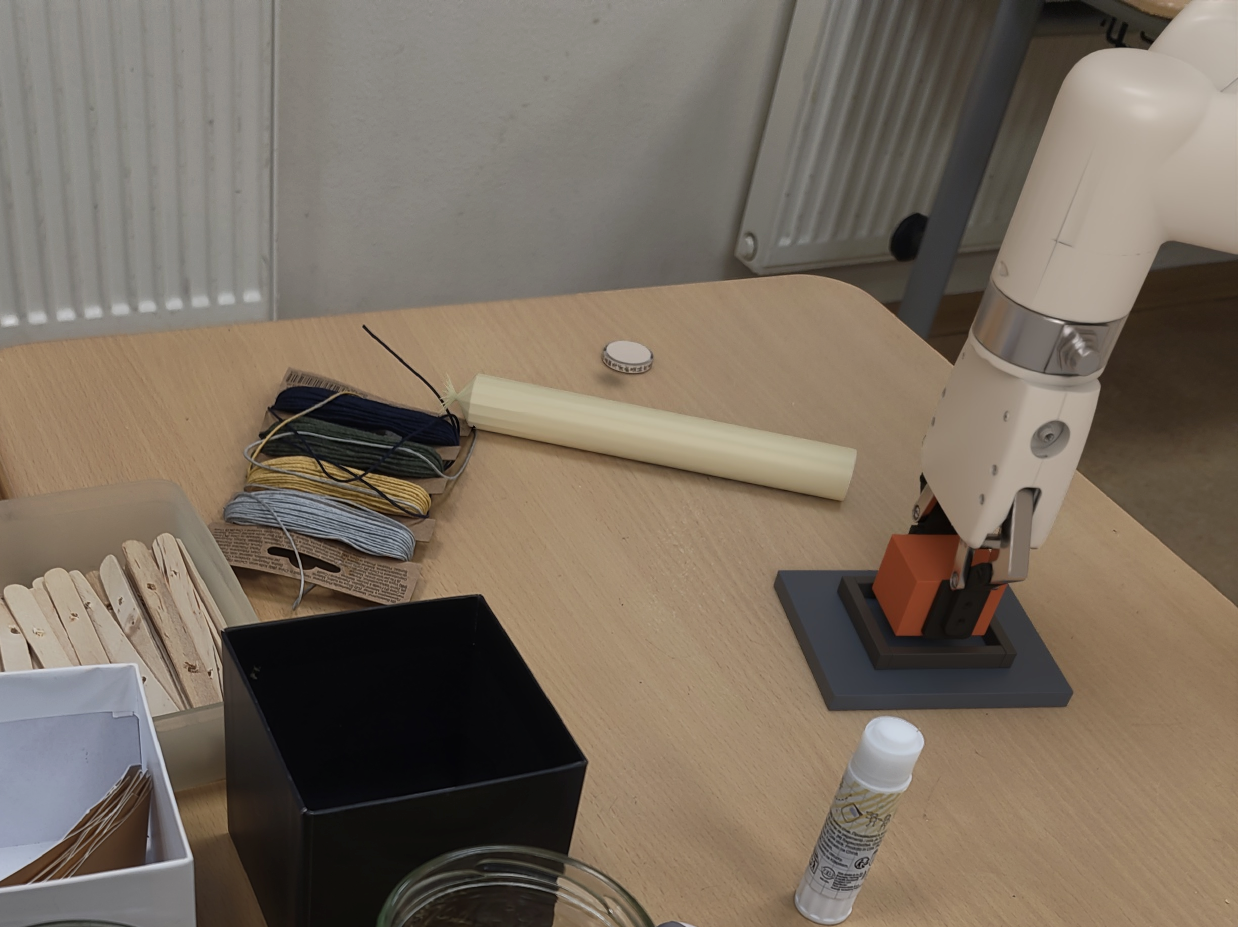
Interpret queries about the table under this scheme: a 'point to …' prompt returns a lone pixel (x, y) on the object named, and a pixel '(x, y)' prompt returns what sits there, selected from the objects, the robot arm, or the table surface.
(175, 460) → the table surface
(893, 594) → the orange block
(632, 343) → the white flat disc
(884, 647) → the board
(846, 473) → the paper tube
